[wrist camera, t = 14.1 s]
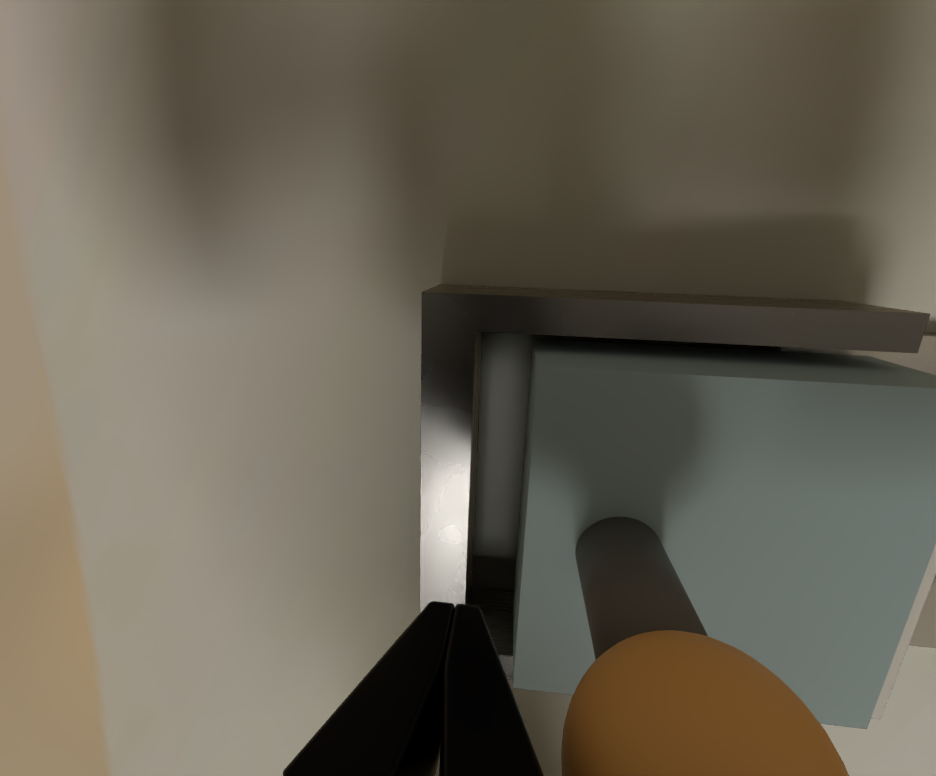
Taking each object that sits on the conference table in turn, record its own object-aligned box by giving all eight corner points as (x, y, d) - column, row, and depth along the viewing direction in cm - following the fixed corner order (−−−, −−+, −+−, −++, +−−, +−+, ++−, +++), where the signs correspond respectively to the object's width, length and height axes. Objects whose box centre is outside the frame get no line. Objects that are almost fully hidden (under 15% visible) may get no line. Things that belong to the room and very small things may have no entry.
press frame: (1169, 678, 13) (1385, 820, 10) (434, 604, 15) (412, 702, 12) (1380, 323, 10) (1783, 355, 7) (439, 284, 12) (411, 295, 9)
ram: (802, 627, 13) (1329, 1316, 5) (513, 598, 14) (509, 1150, 5) (882, 356, 11) (2187, 722, 2) (532, 338, 12) (578, 573, 3)
